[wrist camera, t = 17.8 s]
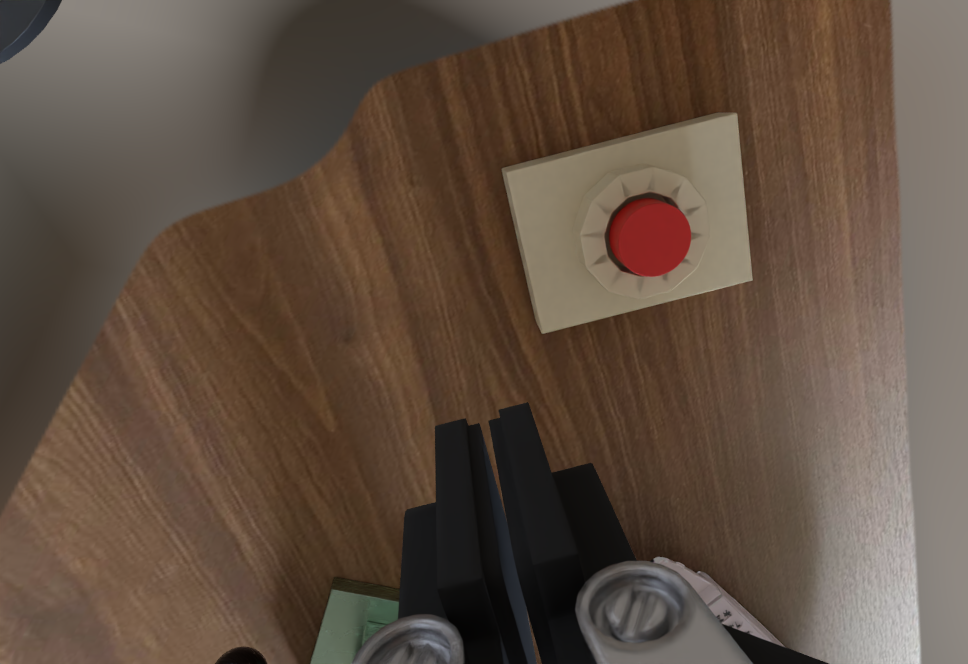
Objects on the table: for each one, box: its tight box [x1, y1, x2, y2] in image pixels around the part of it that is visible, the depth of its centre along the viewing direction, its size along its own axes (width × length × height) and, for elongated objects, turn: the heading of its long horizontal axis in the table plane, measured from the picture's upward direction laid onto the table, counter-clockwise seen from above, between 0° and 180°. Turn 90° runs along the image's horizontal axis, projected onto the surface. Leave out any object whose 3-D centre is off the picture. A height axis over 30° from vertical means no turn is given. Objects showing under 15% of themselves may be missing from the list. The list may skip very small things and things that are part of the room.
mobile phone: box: [650, 557, 784, 647], centre depth 43 cm, size 6×6×25 cm
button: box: [609, 198, 691, 277], centre depth 31 cm, size 4×4×2 cm
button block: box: [502, 112, 753, 334], centre depth 33 cm, size 12×9×4 cm
